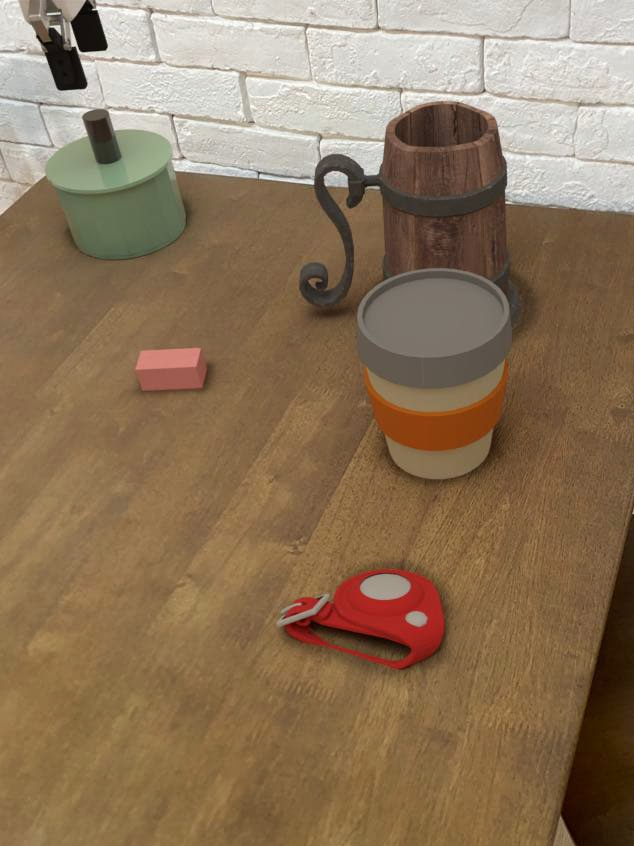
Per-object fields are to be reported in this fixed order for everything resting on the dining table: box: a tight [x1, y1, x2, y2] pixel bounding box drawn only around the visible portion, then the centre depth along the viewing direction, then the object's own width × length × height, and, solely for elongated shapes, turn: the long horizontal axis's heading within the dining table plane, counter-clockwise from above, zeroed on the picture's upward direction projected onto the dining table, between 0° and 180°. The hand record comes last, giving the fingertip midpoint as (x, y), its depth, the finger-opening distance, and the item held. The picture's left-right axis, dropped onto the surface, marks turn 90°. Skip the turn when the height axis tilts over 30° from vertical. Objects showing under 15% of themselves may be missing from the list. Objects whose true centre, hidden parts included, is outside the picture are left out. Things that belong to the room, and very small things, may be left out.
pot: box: [54, 159, 187, 261], centre depth 111 cm, size 14×14×8 cm
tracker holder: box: [275, 568, 445, 670], centre depth 70 cm, size 12×4×10 cm
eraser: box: [134, 347, 208, 392], centre depth 92 cm, size 6×3×4 cm, turn 90°
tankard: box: [298, 100, 522, 329], centre depth 91 cm, size 24×17×20 cm
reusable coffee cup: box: [356, 268, 513, 480], centre depth 79 cm, size 13×13×15 cm
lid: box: [44, 108, 174, 194], centre depth 106 cm, size 15×15×6 cm
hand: (84, 69), depth 101 cm, fingers open, 9 cm apart
